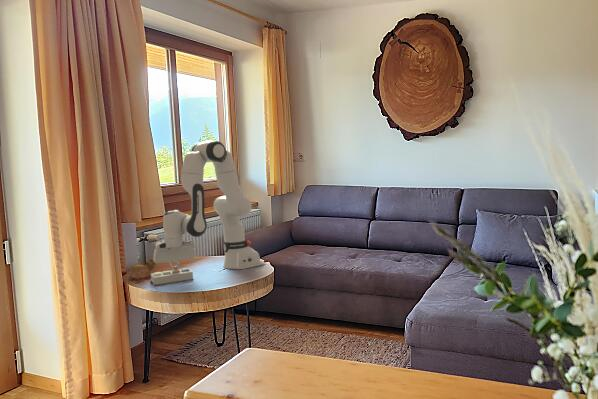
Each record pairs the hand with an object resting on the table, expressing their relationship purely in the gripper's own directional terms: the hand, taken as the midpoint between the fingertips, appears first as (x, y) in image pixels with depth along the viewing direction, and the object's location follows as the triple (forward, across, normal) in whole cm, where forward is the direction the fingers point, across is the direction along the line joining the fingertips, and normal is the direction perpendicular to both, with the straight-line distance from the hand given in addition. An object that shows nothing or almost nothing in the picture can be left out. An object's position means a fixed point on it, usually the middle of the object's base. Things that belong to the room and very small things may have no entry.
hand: (175, 269), depth 259 cm
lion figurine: (+6, +13, -19) cm, 24 cm away
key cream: (+3, +9, 0) cm, 9 cm away
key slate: (+3, -5, 0) cm, 6 cm away
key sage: (+3, +4, 0) cm, 5 cm away
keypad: (+5, +2, 0) cm, 6 cm away
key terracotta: (+3, 0, 0) cm, 3 cm away
